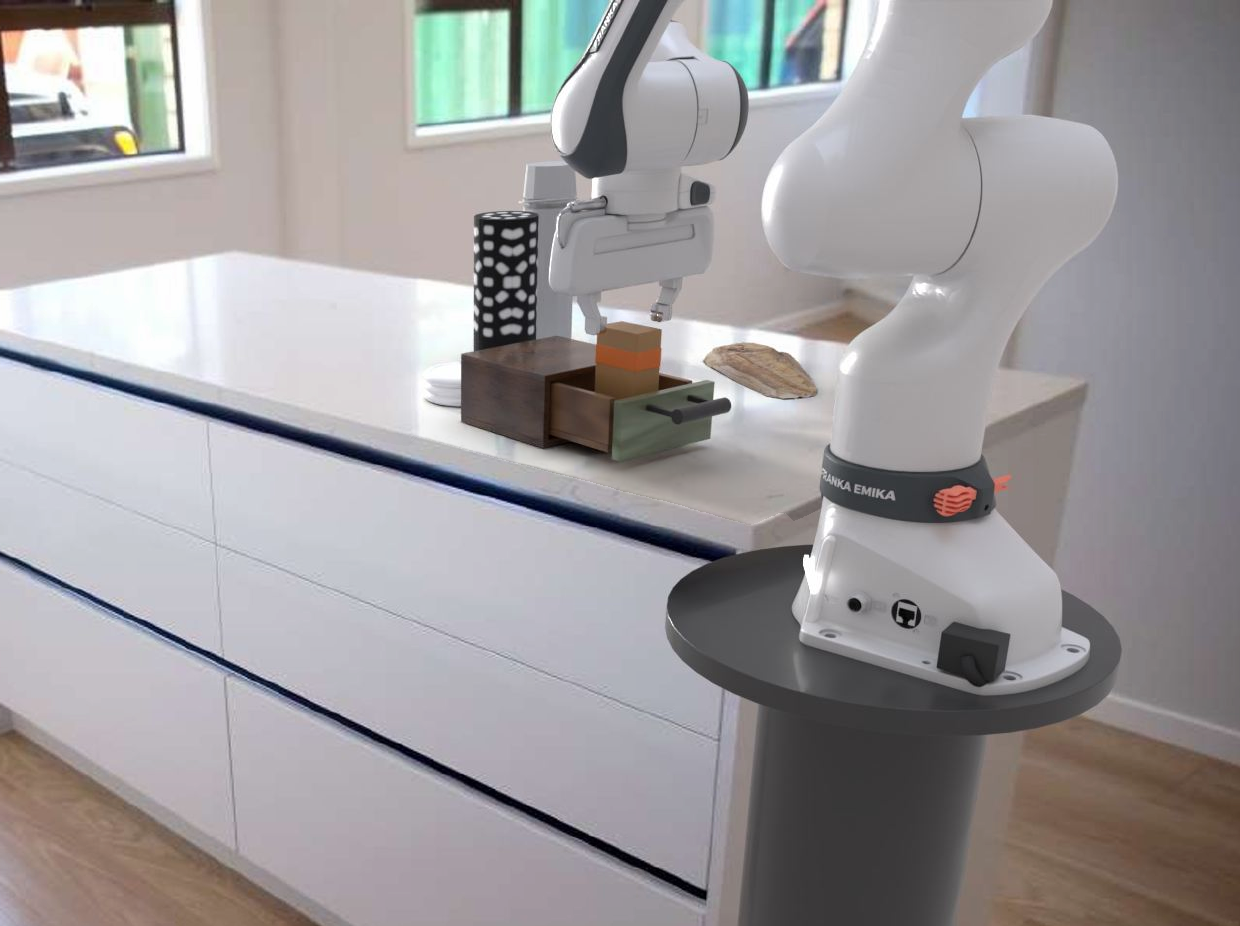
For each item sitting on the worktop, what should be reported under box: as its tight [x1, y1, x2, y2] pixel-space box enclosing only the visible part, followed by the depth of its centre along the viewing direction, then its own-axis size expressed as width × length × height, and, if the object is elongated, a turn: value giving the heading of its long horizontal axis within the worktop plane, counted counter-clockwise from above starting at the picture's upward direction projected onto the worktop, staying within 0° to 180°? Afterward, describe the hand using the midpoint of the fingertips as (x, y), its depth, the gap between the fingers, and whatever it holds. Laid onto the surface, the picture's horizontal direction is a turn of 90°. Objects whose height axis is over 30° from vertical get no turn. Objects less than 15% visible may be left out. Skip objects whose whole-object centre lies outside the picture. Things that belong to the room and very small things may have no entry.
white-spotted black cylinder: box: [473, 210, 539, 351], centre depth 187 cm, size 8×8×20 cm
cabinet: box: [460, 336, 597, 449], centre depth 163 cm, size 15×15×8 cm
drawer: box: [549, 372, 732, 463], centre depth 151 cm, size 19×13×6 cm
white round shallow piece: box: [423, 361, 461, 407], centre depth 176 cm, size 10×10×4 cm
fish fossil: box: [703, 341, 819, 400], centre depth 181 cm, size 26×10×1 cm, turn 9°
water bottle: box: [518, 160, 578, 339], centre depth 197 cm, size 9×8×25 cm
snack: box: [595, 320, 663, 400], centre depth 152 cm, size 6×4×11 cm, turn 32°
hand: (628, 327), depth 150 cm, fingers open, 8 cm apart
